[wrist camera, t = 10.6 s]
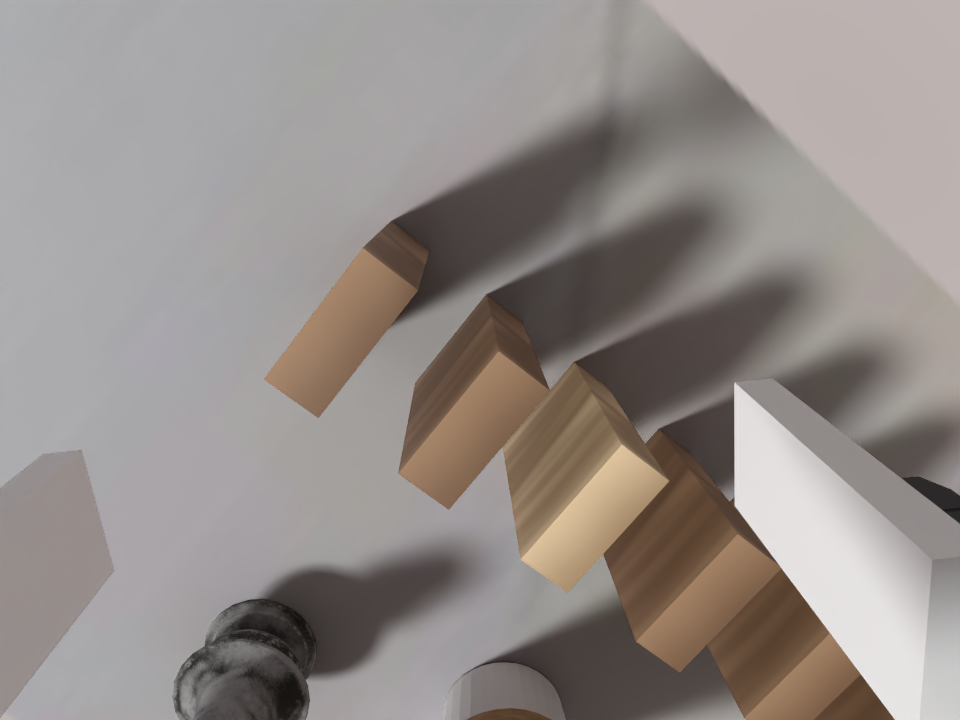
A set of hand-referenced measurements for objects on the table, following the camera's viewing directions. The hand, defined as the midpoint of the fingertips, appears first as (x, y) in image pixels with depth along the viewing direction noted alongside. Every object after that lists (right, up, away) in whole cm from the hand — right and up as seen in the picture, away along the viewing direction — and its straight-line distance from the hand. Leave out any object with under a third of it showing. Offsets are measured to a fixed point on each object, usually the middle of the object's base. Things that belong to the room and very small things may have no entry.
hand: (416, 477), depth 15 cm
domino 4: (+13, -6, +21) cm, 25 cm away
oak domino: (+5, 0, +19) cm, 19 cm away
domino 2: (+1, +3, +18) cm, 18 cm away
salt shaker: (-9, -11, +21) cm, 26 cm away
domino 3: (+9, -3, +20) cm, 22 cm away
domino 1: (-3, +6, +17) cm, 18 cm away
